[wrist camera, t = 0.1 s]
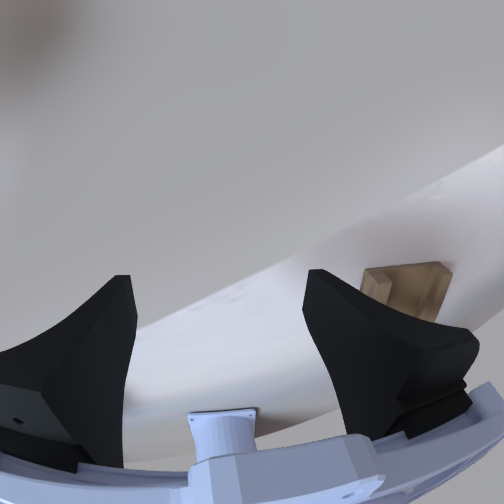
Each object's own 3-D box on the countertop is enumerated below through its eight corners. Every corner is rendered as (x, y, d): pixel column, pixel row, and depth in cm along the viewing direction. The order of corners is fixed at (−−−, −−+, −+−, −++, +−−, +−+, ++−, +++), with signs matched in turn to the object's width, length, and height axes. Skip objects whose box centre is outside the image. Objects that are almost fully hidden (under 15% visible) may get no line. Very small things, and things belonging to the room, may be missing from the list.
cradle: (417, 322, 30) (428, 335, 28) (347, 336, 29) (357, 353, 26) (438, 261, 27) (453, 273, 24) (364, 268, 25) (378, 283, 23)
